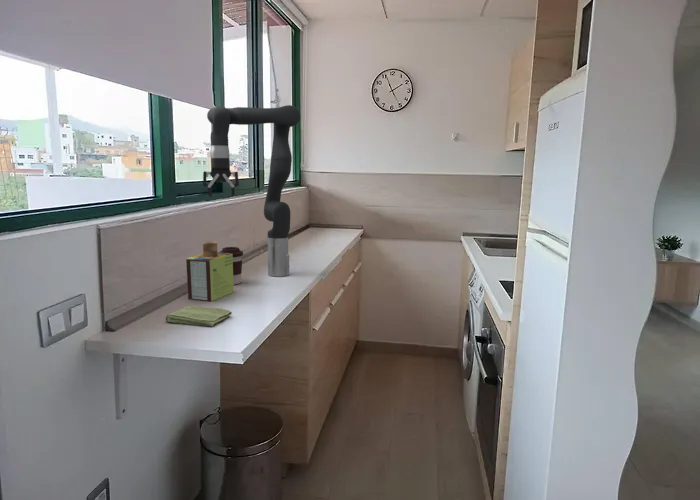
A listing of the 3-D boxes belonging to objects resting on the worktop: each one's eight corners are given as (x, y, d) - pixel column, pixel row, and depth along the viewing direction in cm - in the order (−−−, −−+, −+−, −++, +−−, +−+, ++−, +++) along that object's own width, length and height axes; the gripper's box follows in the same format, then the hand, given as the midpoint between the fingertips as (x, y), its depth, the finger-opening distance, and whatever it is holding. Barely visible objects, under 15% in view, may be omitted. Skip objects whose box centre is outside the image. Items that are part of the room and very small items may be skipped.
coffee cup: (237, 286, 204) (236, 250, 201) (215, 285, 206) (214, 249, 203) (247, 281, 213) (246, 246, 211) (226, 279, 215) (225, 245, 213)
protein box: (234, 292, 196) (233, 253, 193) (211, 301, 181) (209, 260, 179) (211, 289, 199) (210, 251, 196) (187, 299, 185) (185, 258, 182)
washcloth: (213, 329, 153) (213, 319, 152) (163, 324, 157) (162, 314, 156) (233, 316, 165) (233, 307, 165) (186, 312, 170) (186, 303, 169)
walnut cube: (217, 254, 191) (217, 241, 190) (217, 256, 186) (216, 243, 185) (203, 254, 190) (203, 241, 189) (203, 256, 185) (202, 243, 184)
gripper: (237, 157, 209) (238, 196, 212) (202, 157, 206) (203, 196, 208) (238, 157, 202) (239, 197, 205) (201, 156, 198) (203, 197, 201)
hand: (221, 196), depth 207 cm, fingers open, 8 cm apart
